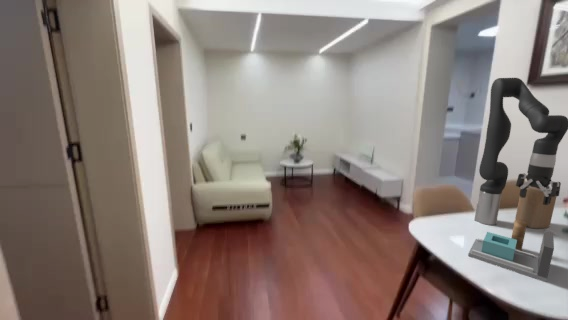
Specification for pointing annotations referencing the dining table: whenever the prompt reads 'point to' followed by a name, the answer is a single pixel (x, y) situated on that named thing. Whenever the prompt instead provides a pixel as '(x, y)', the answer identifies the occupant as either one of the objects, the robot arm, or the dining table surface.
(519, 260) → the rail base
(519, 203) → the block
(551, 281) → the dining table surface
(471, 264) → the dining table surface
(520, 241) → the dowel
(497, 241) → the socket block
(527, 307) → the dining table surface
